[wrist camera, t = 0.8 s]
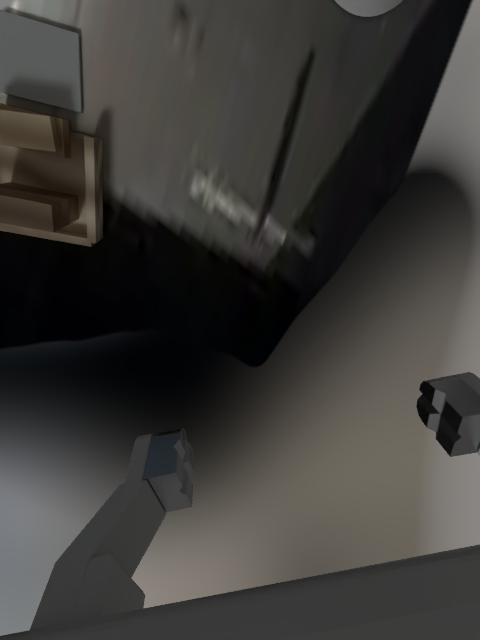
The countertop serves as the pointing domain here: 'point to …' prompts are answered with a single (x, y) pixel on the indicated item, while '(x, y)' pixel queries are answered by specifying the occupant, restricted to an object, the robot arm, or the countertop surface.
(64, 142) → the offcut lower
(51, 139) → the offcut upper
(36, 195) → the dark brown wood block
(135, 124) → the countertop surface
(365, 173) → the countertop surface
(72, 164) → the tray
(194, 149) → the countertop surface
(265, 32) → the countertop surface
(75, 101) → the mat
